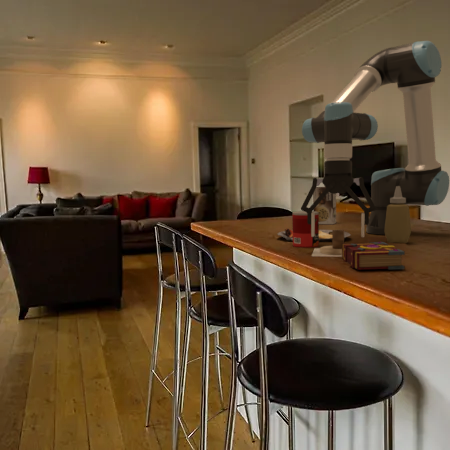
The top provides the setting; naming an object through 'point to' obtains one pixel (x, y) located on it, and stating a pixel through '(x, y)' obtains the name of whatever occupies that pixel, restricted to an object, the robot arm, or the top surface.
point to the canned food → (304, 230)
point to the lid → (334, 244)
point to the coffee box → (325, 206)
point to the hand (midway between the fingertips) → (337, 236)
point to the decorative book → (372, 256)
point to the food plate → (323, 235)
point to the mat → (317, 253)
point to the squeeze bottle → (397, 219)
